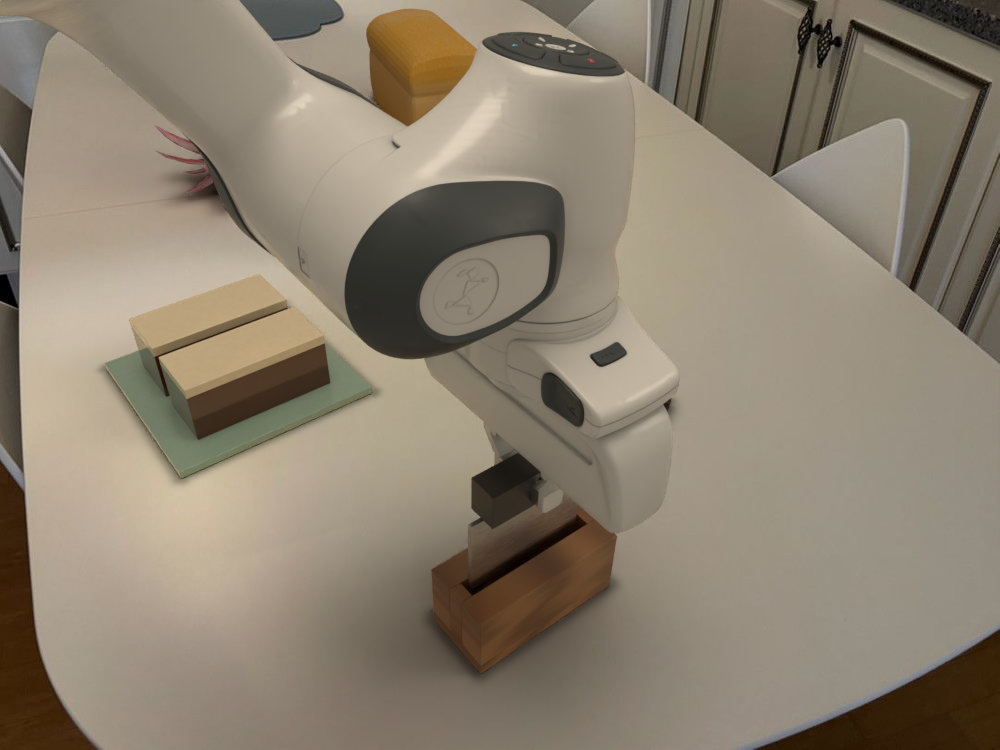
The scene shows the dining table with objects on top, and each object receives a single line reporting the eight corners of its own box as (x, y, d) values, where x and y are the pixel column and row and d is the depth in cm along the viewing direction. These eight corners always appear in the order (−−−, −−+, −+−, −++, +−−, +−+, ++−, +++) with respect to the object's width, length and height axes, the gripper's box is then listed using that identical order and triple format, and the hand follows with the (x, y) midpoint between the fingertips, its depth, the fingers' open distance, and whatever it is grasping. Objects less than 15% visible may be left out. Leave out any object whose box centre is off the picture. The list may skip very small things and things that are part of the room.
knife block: (480, 674, 62) (480, 625, 58) (433, 618, 66) (430, 569, 62) (609, 585, 68) (617, 535, 65) (560, 539, 72) (565, 489, 68)
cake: (181, 478, 77) (164, 422, 72) (106, 368, 89) (87, 315, 85) (372, 392, 87) (366, 338, 82) (281, 304, 99) (272, 253, 94)
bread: (369, 96, 149) (362, 6, 140) (439, 87, 153) (437, -1, 144) (413, 151, 132) (408, 53, 123) (490, 139, 136) (491, 43, 126)
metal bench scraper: (479, 603, 60) (480, 505, 54) (459, 581, 62) (458, 483, 56) (583, 537, 65) (595, 441, 59) (563, 518, 67) (572, 422, 60)
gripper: (396, 263, 55) (405, 424, 63) (620, 436, 42) (594, 607, 51) (474, 235, 58) (473, 392, 67) (704, 388, 46) (666, 557, 54)
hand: (527, 487), depth 59 cm, fingers closed on metal bench scraper, 2 cm apart
